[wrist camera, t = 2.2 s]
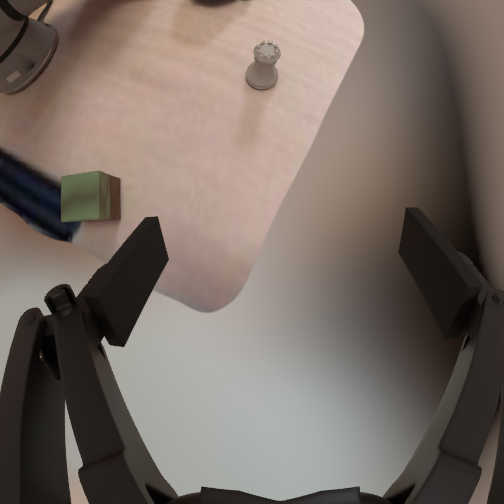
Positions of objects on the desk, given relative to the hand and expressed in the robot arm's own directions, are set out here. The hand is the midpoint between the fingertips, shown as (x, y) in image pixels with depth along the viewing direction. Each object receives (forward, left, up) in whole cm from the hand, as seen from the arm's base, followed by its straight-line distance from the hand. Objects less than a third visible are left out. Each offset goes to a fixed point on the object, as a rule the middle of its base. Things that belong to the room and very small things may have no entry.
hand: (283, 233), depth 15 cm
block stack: (-4, -20, -23) cm, 31 cm away
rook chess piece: (-21, +2, -23) cm, 31 cm away
